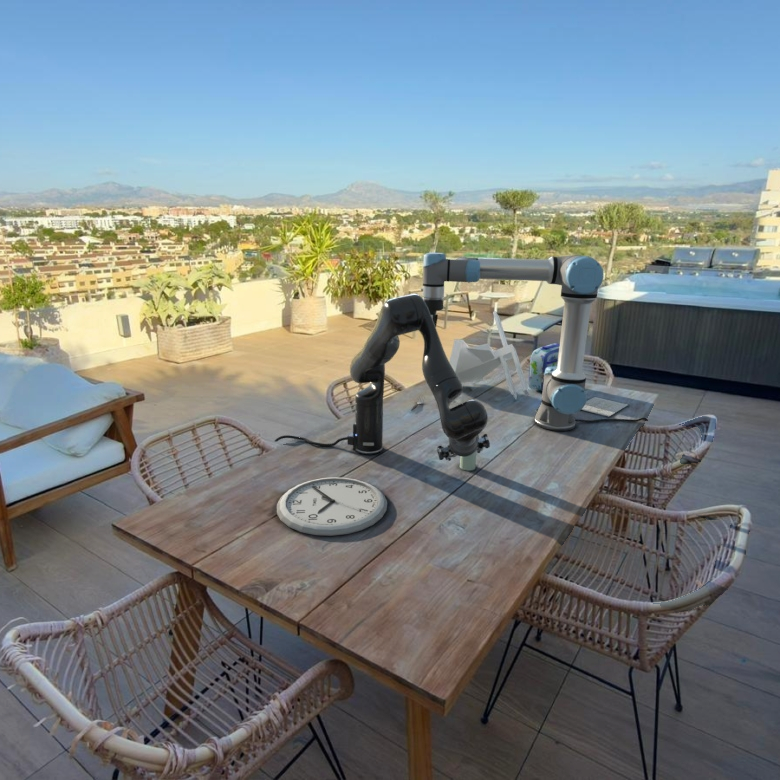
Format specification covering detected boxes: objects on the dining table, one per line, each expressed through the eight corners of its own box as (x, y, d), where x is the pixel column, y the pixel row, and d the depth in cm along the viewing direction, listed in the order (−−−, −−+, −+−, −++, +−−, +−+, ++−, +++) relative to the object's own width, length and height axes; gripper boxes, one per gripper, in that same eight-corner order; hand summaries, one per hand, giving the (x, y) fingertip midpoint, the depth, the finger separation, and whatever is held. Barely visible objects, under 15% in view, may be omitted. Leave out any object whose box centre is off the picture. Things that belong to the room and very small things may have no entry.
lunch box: (544, 395, 239) (549, 351, 233) (524, 390, 247) (528, 347, 240) (571, 384, 257) (577, 343, 251) (552, 380, 264) (556, 339, 258)
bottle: (468, 462, 170) (472, 402, 164) (478, 468, 166) (483, 406, 160) (456, 466, 168) (460, 405, 161) (466, 471, 164) (471, 409, 158)
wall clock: (392, 527, 129) (268, 531, 127) (391, 533, 130) (269, 537, 127) (383, 473, 158) (282, 475, 155) (383, 478, 158) (282, 480, 156)
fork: (408, 411, 216) (408, 407, 215) (419, 400, 230) (419, 396, 229) (414, 412, 215) (414, 407, 214) (425, 401, 229) (425, 396, 229)
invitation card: (608, 416, 214) (573, 407, 224) (608, 416, 214) (573, 408, 224) (628, 404, 229) (594, 396, 238) (628, 405, 229) (594, 397, 238)
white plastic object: (461, 429, 252) (437, 405, 227) (444, 352, 274) (420, 323, 250) (535, 404, 240) (518, 377, 215) (510, 326, 262) (492, 293, 237)
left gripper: (486, 418, 135) (483, 435, 150) (432, 431, 136) (435, 447, 151) (494, 445, 132) (491, 459, 147) (440, 459, 133) (442, 472, 148)
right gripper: (424, 293, 195) (422, 349, 202) (419, 302, 172) (417, 365, 178) (444, 294, 195) (441, 350, 201) (442, 303, 171) (439, 366, 177)
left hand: (463, 453), depth 149 cm, fingers open, 8 cm apart
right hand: (430, 357), depth 190 cm, fingers open, 13 cm apart
